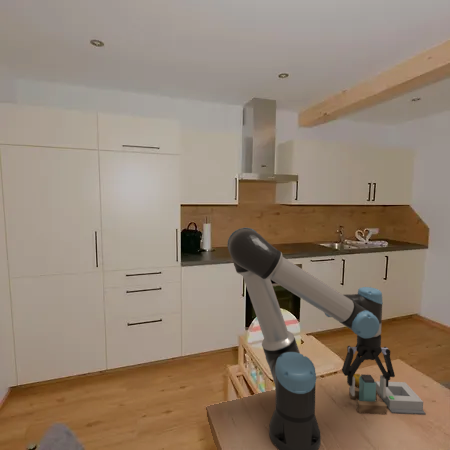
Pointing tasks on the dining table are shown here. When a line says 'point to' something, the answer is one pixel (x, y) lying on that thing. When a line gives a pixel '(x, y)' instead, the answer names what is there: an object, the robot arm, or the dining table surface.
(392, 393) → the port
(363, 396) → the plug
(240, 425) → the dining table surface
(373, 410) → the pair of wooden rails
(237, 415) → the dining table surface
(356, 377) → the fruit
